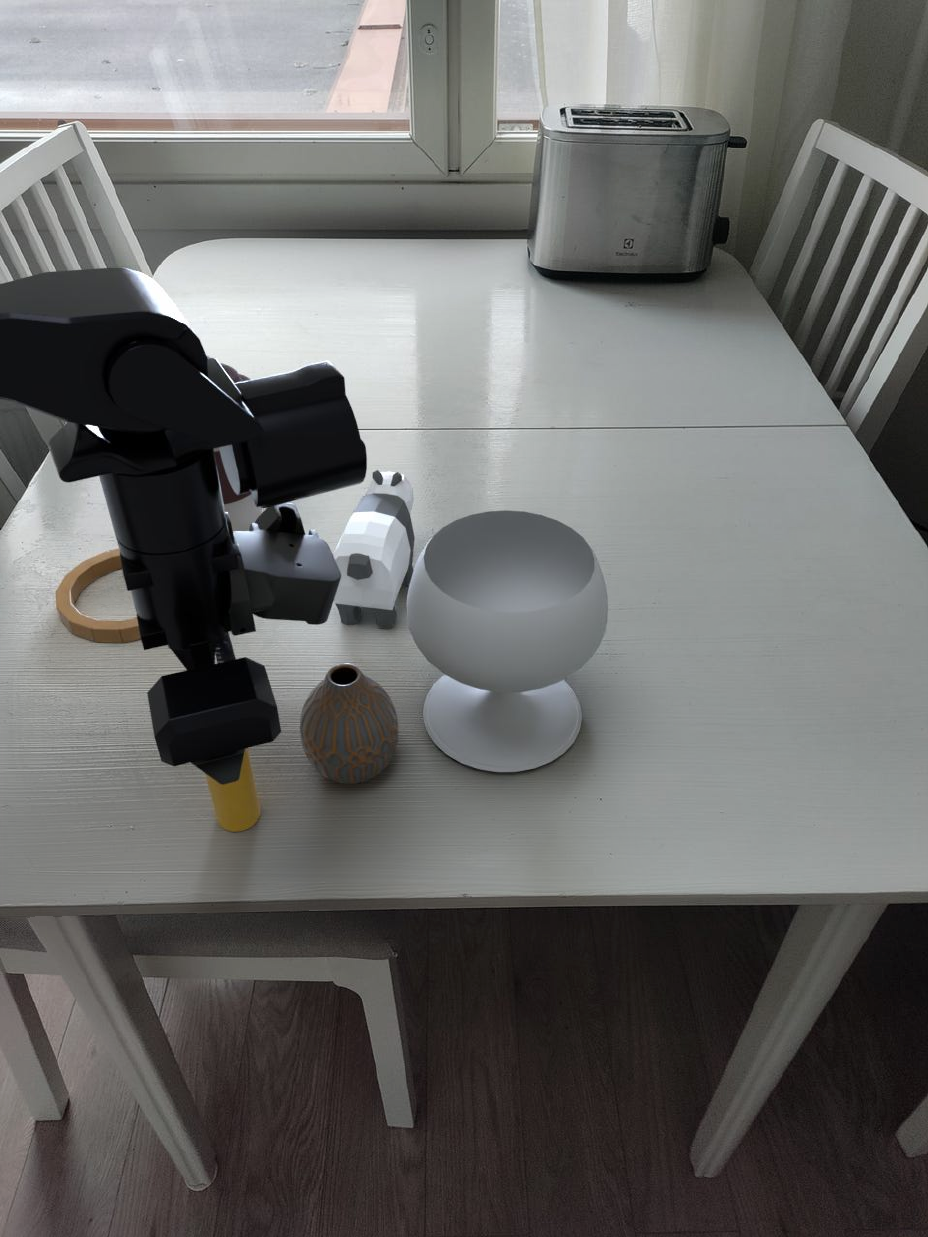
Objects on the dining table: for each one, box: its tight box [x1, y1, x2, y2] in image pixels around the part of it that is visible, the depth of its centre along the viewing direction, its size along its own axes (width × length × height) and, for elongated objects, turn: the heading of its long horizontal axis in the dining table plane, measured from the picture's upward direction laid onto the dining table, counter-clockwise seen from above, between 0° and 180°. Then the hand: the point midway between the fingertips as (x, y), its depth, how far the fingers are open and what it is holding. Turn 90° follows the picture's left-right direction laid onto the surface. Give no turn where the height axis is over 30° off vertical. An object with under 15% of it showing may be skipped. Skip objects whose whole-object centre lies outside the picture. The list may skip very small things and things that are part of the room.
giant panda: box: [332, 469, 416, 630], centre depth 83 cm, size 15×6×10 cm, turn 170°
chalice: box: [406, 509, 609, 773], centre depth 69 cm, size 14×14×15 cm
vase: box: [299, 662, 399, 785], centre depth 67 cm, size 7×7×9 cm
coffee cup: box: [214, 362, 263, 532], centre depth 89 cm, size 10×10×15 cm
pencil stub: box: [204, 748, 262, 833], centre depth 63 cm, size 3×3×9 cm
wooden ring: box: [55, 548, 141, 644], centre depth 84 cm, size 12×12×2 cm
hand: (217, 728), depth 61 cm, fingers open, 9 cm apart
